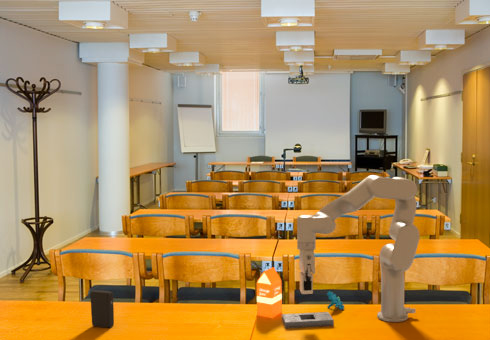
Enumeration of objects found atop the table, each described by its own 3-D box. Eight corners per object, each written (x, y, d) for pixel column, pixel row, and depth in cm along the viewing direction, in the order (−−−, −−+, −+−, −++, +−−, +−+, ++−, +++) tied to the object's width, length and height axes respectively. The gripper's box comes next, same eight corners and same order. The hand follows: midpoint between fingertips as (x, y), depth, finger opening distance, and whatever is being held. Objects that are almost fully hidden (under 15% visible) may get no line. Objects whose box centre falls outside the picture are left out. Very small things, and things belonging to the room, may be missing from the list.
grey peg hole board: (328, 317, 257) (327, 311, 257) (333, 325, 248) (333, 319, 247) (281, 320, 256) (281, 314, 255) (285, 328, 246) (285, 322, 245)
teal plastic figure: (341, 309, 262) (326, 291, 265) (332, 318, 264) (317, 300, 267) (348, 305, 272) (333, 288, 275) (339, 314, 274) (324, 296, 277)
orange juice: (282, 312, 266) (281, 267, 264) (272, 318, 258) (271, 272, 256) (266, 309, 270) (266, 265, 268) (256, 315, 263) (255, 270, 261)
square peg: (310, 290, 253) (310, 271, 252) (312, 293, 248) (312, 274, 248) (300, 290, 252) (299, 272, 252) (302, 294, 248) (302, 275, 247)
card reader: (115, 325, 253) (114, 290, 251) (110, 328, 249) (108, 293, 248) (96, 323, 256) (95, 289, 254) (91, 326, 252) (89, 291, 251)
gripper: (319, 249, 240) (319, 294, 242) (311, 240, 257) (311, 282, 259) (301, 250, 240) (301, 294, 241) (293, 241, 256) (293, 283, 258)
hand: (306, 287), depth 250 cm, fingers closed on square peg, 4 cm apart
